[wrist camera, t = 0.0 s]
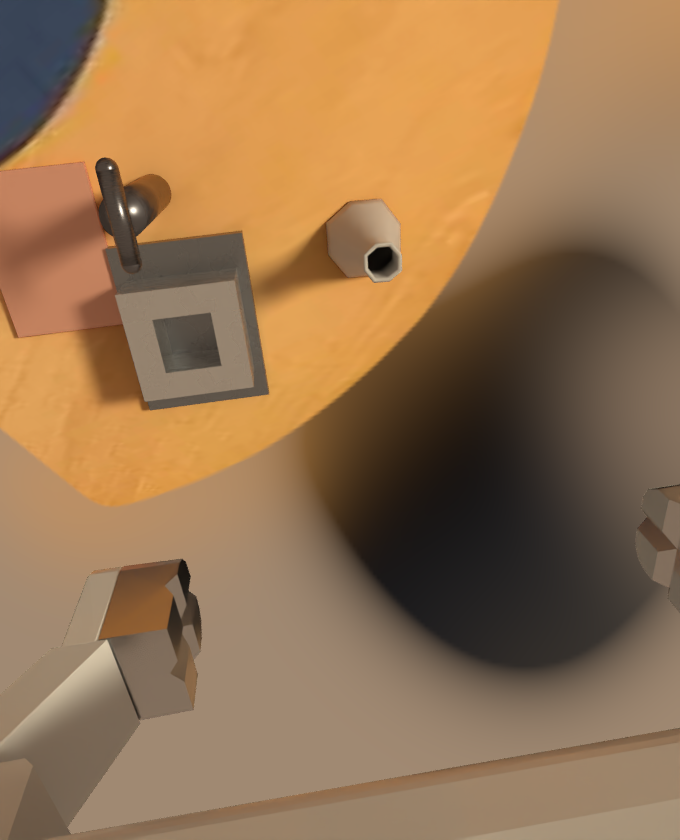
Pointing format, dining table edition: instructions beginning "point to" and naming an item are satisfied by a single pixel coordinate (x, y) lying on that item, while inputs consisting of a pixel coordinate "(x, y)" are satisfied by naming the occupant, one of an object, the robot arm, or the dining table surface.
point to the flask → (365, 240)
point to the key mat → (54, 252)
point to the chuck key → (129, 209)
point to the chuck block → (191, 320)
